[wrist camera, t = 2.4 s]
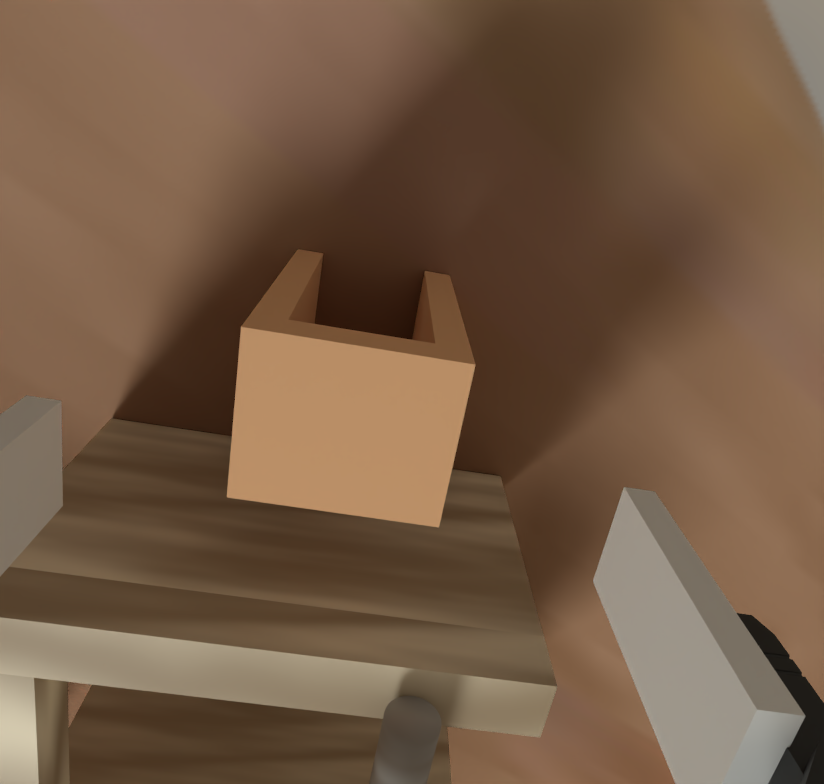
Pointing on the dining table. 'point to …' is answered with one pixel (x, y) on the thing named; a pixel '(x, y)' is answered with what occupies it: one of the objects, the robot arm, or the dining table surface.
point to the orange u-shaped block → (348, 404)
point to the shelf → (257, 629)
